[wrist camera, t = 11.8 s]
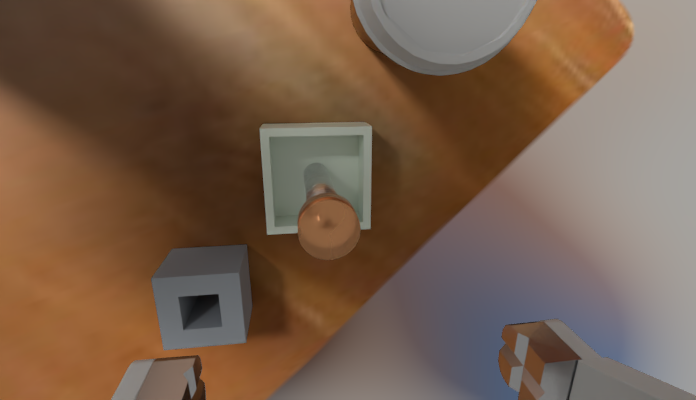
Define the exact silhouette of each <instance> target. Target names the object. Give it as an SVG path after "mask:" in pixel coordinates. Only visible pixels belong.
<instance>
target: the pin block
mask: <svg viewBox="0 0 696 400" xmlns="http://www.w3.org/2000/svg"><path fill="white" fill-rule="evenodd" d="M151 281H152V287H153V292H154V298H155V303H156V309H157V315H158V320H159V326H160V332H161V337H162V343H163V348H164V350H171V349H182V348H194V347H205V346H216V345H227V344H238V343H246V340H247V335H248V329H249V323H250V318H251V312H252V295H251V284H250V273H249V262H248V251H247V244H245V245H228V246H211V247H194V248H177V249H172V250H171V251H170V253H169V254H168V255H167V257H166V258H165V260H164V261H163V262H162V264H161V265H160V267H159V268H158V270H157V271H156V272H155V274H154V275H153V277H152V278H151Z"/></svg>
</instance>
